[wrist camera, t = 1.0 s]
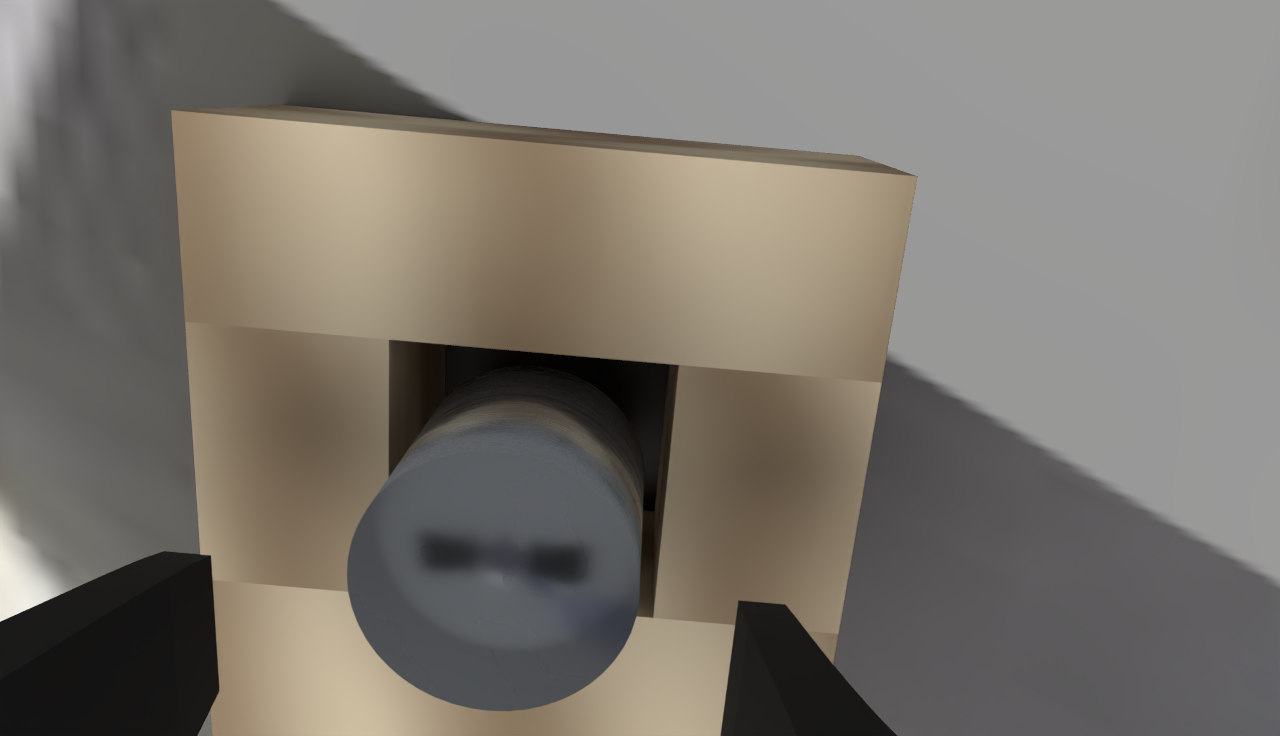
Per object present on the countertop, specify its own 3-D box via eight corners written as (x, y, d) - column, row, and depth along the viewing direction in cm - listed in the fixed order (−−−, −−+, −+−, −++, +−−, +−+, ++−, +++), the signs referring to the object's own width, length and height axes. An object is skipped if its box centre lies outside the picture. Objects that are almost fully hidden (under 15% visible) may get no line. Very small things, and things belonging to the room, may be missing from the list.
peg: (654, 376, 16) (652, 465, 12) (634, 583, 17) (627, 722, 14) (419, 355, 16) (345, 438, 12) (416, 564, 17) (347, 699, 14)
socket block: (858, 155, 19) (917, 176, 15) (728, 1011, 26) (741, 1195, 22) (282, 105, 19) (171, 109, 15) (309, 976, 26) (239, 1153, 22)
